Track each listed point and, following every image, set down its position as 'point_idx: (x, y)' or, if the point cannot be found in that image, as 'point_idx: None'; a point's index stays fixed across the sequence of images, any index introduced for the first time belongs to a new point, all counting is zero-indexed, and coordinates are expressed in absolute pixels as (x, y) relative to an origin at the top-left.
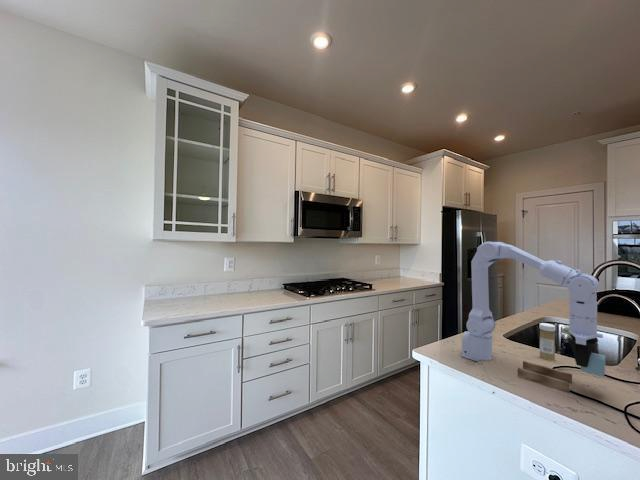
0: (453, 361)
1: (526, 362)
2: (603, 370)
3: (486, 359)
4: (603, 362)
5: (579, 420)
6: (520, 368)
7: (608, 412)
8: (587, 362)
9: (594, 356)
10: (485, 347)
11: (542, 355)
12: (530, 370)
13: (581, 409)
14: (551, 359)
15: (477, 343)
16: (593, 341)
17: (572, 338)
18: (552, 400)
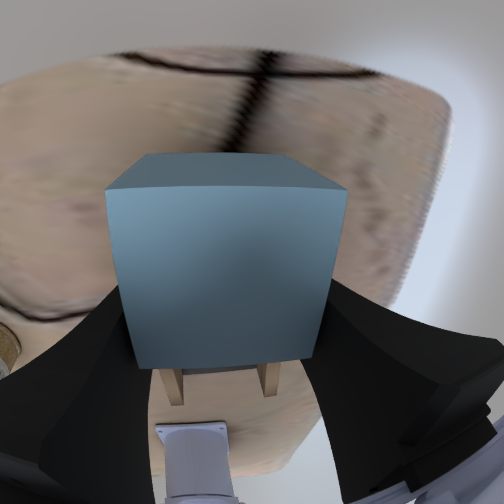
0: (273, 445)
1: (180, 399)
2: (303, 165)
3: (213, 435)
4: (330, 183)
5: (424, 199)
6: (266, 392)
7: (315, 123)
8: (331, 281)
9: (281, 277)
10: (220, 468)
11: (13, 363)
12: (179, 369)
13: (358, 197)
14: (2, 337)
15: (231, 481)
16: (75, 438)
17: (153, 497)
18: (352, 269)
